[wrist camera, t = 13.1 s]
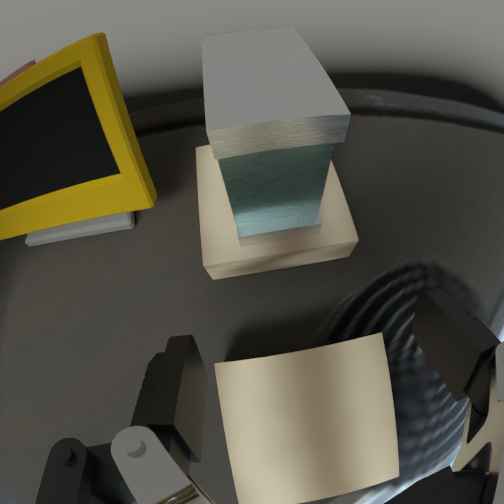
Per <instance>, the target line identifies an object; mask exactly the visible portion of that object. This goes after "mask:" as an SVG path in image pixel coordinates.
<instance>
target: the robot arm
mask: <svg viewBox="0 0 504 504" xmlns="http://www.w3.org/2000/svg"><path fill="white" fill-rule="evenodd" d="M412 329H413V336H414V339H415V341H416V342H417V344H418V345H419V346H420V348H421V349H422V351H423V352H424V353H425V355H426V356H427V358H428V359H429V361H430V362H431V364H432V365H433V366H434V368H435V369H436V371H437V372H438V374H439V375H440V377H441V378H442V380H443V381H444V383H445V384H446V386H447V387H448V389H449V391H450V392H451V394H452V395H453V397H454V398H455V400H456V402H457V401H459V400H461V399H463V398H465V397H467V396H468V397H469V399H470V401H469V402H468V405H467V411H466V419H465V425H464V432H463V437H462V443H461V448H460V451H459V453H458V455H457V457H456V459H455V461H454V463H453V465H452V468H451V467H450V465H449V466H448V467H446V468H444V469H442V470H440V471H438V472H436V473H434V474H432V475H430V476H428V477H426V478H423V479H421V480H419V481H417V482H415V483H414V484H413V485H411V486H410V487H408V488H407V489H405V490H404V491H403V492H401V493H400V494H398V495H397V496H395V497H393V498H392V499H390V500H389V501H387V502H386V503H384V504H504V342H502V343H501V342H500V341H499V339H498V338H497V337H496V336H495V335H494V334H493V333H492V332H491V331H490V330H489V329H488V328H487V327H486V326H485V325H484V324H483V323H482V322H481V321H480V320H479V319H477V317H476V316H475V315H474V314H473V313H471V311H470V310H469V309H468V308H467V307H466V306H465V305H464V304H463V303H462V302H460V301H458V300H456V299H454V298H452V297H449V296H448V295H447V294H446V293H445V292H444V291H443V290H442V289H441V288H439V287H436V288H433V289H429V290H426V291H422V292H420V293H419V295H418V299H417V305H416V311H415V316H414V321H413V327H412ZM206 385H207V377H206V370H205V367H204V364H203V361H202V358H201V356H200V353H199V350H198V348H197V345H196V342H195V339H194V337H193V336H192V335H183V336H173V337H170V338H169V340H168V343H167V346H166V350H165V352H161V353H157V354H156V355H155V356H154V357H153V359H152V360H151V361H150V362H149V364H148V367H147V370H146V373H145V378H144V380H143V383H142V388H141V390H140V393H139V397H138V400H137V404H136V407H135V411H134V414H133V418H132V422H131V425H130V427H128V428H126V429H124V430H122V431H120V432H119V433H118V434H117V435H116V436H115V438H114V439H113V441H112V443H108V444H102V445H97V446H91V447H86V446H84V445H83V444H82V443H81V442H80V441H79V440H77V439H75V438H65V439H62V440H60V441H58V442H57V443H56V444H55V445H54V446H53V447H52V449H51V451H50V453H49V457H48V460H47V463H46V466H45V470H44V473H43V477H42V480H41V484H40V488H39V492H38V496H37V500H36V504H132V502H134V501H137V503H138V504H215V503H214V502H213V501H212V500H211V499H210V498H209V497H208V495H207V494H206V493H205V492H204V491H203V490H202V489H201V487H200V486H199V485H198V484H197V483H196V482H195V480H194V479H193V478H192V477H191V475H190V474H189V467H190V462H201V452H202V437H203V423H204V410H205V397H206Z"/></svg>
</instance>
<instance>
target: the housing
mask: <svg viewBox="0 0 504 504" xmlns="http://www.w3.org/2000/svg"><path fill="white" fill-rule="evenodd" d="M201 45H202V68H203V87H204V103H205V119H206V132H207V136H208V139H209V142H210V146H211V149H212V153H213V156H214V159H215V160H216V159H217V160H218V164H219V167H220V171H221V174H222V178H223V181H224V185H225V188H226V192H227V195H228V199H229V202H230V205H231V209H232V212H233V216H234V219H235V223H236V227H237V235H238V239H239V243H240V246H241V247H245V246H250V245H256V244H262V243H268V242H274V241H280V240H286V239H292V238H298V237H304V236H310V235H316V234H319V232H320V228H321V225H322V221H321V218H320V214H319V208H320V204H321V200H322V196H323V192H324V188H325V184H326V179H327V175H328V171H329V166H330V162H331V157H332V153H333V148H334V143H339V142H344V141H345V137H346V133H347V129H348V125H349V120H350V116H351V113H350V112H349V110H348V108H347V106H346V105H345V103H344V101H343V99H342V98H341V96H340V94H339V93H338V91H337V89H336V88H335V86H334V85H333V83H332V82H331V80H330V78H329V77H328V75H327V73H326V72H325V70H324V69H323V67H322V66H321V65H320V63H319V61H318V60H317V58H316V57H315V55H314V54H313V52H312V51H311V50H310V48H309V47H308V45H307V44H306V43H305V41H304V40H303V38H302V37H301V36H300V34H299V33H298V32H297V30H296V29H295V28H294V27H282V28H269V29H258V30H249V31H241V32H234V33H228V34H221V35H216V36H211V37H205V38H201Z"/></svg>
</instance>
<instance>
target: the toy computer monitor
mask: <svg viewBox="0 0 504 504" xmlns="http://www.w3.org/2000/svg"><path fill="white" fill-rule="evenodd" d="M156 198H157V193H156V190H155V187H154V185H153V182H152V180H151V177H150V174H149V172H148V169H147V166H146V163H145V161H144V158H143V155H142V152H141V150H140V147H139V144H138V141H137V138H136V135H135V132H134V129H133V126H132V123H131V120H130V117H129V114H128V111H127V108H126V105H125V102H124V99H123V96H122V92H121V89H120V86H119V83H118V79H117V76H116V72H115V69H114V65H113V62H112V58H111V54H110V51H109V48H108V43H107V39H106V35H105V34H104V33H102V32H101V33H97V34H93V35H90V36H88V37H86V38H84V39H82V40H79V41H77V42H75V43H73V44H71V45H69V46H67V47H65V48H63V49H61V50H59V51H57V52H56V53H54V54H52V55H50V56H48V57H47V58H45V59H43V60H41V61H40V62H38V63H35V61H34V60H33V61H31V62H29V63H27V64H25V65H24V66H22V67H21V68H19V69H18V70H16V71H15V72H13V73H12V74H10V75H9V76H8V77H7V78H5V79H4V80H2V81H1V82H0V240H4V239H8V238H11V237H15V236H19V235H23V234H27V233H28V235H27V238H26V241H25V244H27V245H28V246H30V247H31V246H36V245H41V244H46V243H51V242H56V241H61V240H67V239H72V238H78V237H84V236H89V235H95V234H101V233H107V232H113V231H119V230H125V229H132V228H134V227H135V220H134V211H137V210H143V209H148V208H153V206H154V204H155V201H156Z"/></svg>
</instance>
